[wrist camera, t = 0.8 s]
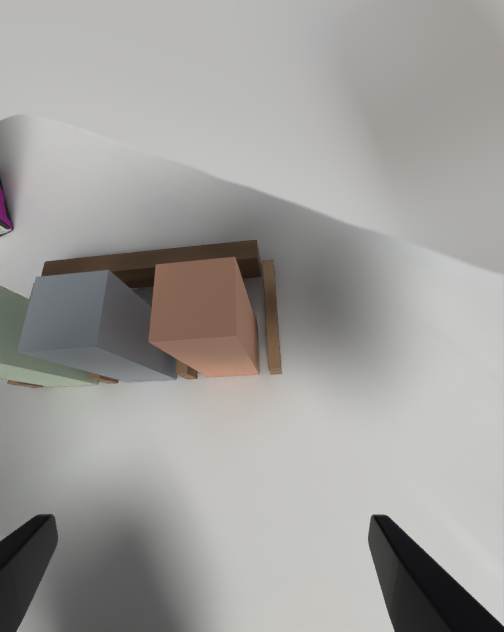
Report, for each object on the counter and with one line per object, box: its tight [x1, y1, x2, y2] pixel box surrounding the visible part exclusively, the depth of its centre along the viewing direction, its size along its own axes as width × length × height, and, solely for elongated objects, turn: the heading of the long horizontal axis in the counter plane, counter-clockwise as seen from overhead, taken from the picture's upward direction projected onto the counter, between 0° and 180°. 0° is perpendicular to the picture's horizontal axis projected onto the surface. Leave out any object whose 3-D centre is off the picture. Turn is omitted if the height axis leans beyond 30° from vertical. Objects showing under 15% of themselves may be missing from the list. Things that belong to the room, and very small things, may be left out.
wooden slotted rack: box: [7, 240, 281, 388], centre depth 23 cm, size 10×20×3 cm, turn 92°
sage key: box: [0, 286, 98, 387], centre depth 19 cm, size 4×4×10 cm
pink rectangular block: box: [148, 257, 259, 377], centre depth 18 cm, size 4×4×10 cm
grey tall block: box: [17, 270, 177, 382], centre depth 19 cm, size 4×4×10 cm
